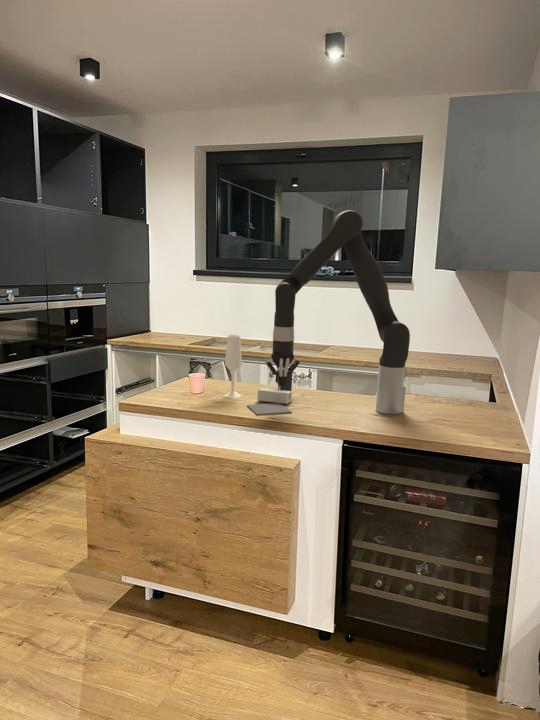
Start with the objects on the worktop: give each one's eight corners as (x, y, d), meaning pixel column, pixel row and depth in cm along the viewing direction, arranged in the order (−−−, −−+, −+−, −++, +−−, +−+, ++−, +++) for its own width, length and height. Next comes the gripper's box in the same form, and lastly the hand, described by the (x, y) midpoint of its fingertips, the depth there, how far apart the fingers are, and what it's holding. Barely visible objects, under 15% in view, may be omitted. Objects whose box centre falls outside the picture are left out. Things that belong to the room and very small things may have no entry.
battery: (284, 394, 212) (285, 366, 210) (292, 396, 209) (293, 368, 207) (273, 397, 207) (274, 369, 205) (280, 399, 204) (281, 370, 202)
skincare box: (291, 402, 201) (262, 398, 205) (292, 391, 201) (262, 387, 205) (287, 404, 196) (256, 400, 199) (287, 393, 195) (257, 389, 199)
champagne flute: (242, 394, 210) (243, 334, 206) (239, 398, 204) (241, 337, 199) (225, 393, 211) (227, 334, 206) (222, 397, 204) (223, 336, 200)
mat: (279, 404, 197) (279, 402, 197) (291, 413, 186) (291, 411, 186) (247, 406, 193) (247, 404, 193) (257, 415, 182) (257, 414, 182)
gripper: (296, 337, 192) (294, 383, 195) (262, 337, 187) (260, 384, 191) (304, 340, 185) (302, 387, 188) (269, 340, 181) (267, 389, 184)
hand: (281, 386), depth 189 cm, fingers closed
